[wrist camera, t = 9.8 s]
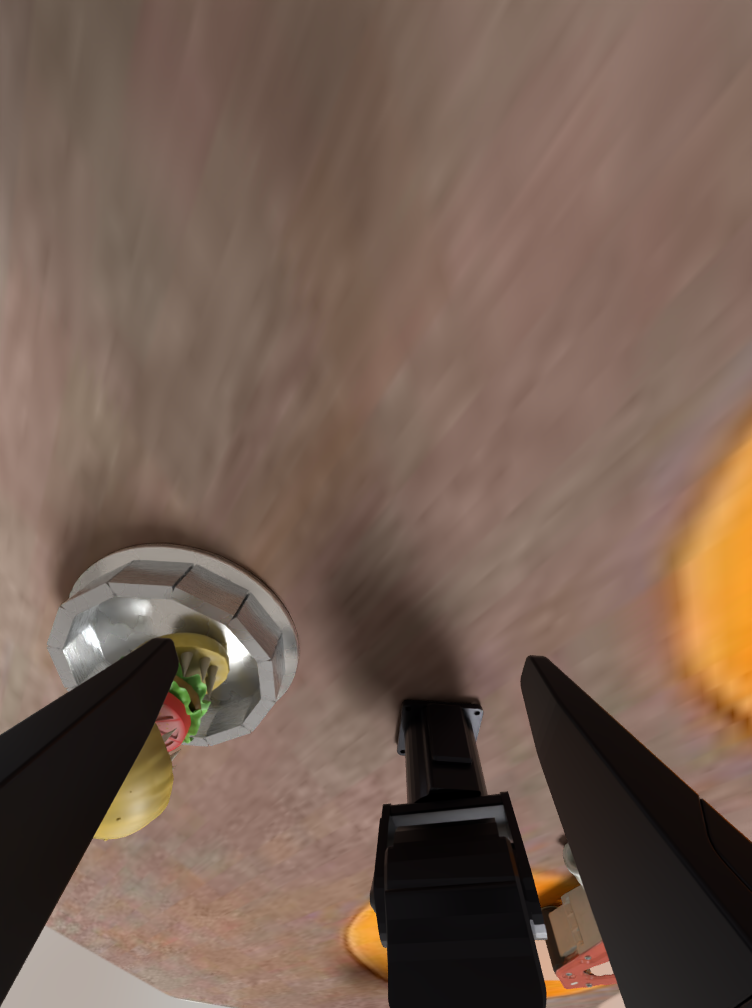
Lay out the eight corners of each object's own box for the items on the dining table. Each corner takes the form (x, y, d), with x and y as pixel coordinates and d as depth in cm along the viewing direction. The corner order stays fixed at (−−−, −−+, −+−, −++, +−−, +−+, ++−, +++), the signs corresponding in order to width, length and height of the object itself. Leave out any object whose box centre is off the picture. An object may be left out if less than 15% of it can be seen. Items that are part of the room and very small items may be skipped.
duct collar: (303, 721, 30) (294, 760, 27) (107, 708, 30) (78, 745, 27) (294, 551, 23) (281, 579, 20) (41, 535, 23) (-8, 561, 20)
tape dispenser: (568, 807, 37) (485, 904, 43) (596, 874, 32) (497, 973, 38) (715, 853, 38) (613, 941, 44) (764, 925, 33) (641, 1012, 39)
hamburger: (215, 695, 28) (103, 917, 17) (128, 657, 27) (-56, 872, 16) (255, 635, 25) (153, 853, 14) (161, 589, 24) (-34, 791, 13)
